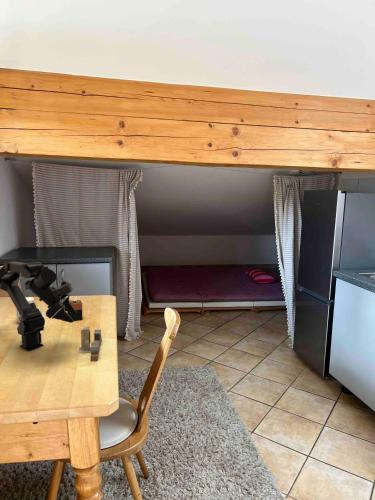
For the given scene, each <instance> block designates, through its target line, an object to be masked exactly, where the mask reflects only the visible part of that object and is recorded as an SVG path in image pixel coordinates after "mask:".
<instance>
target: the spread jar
mask: <svg viewBox="0 0 375 500" xmlns="http://www.w3.org/2000/svg"><path fill="white" fill-rule="evenodd" d="M25 298H26V299H27V301H28V303H29V304H30V306H31V308H32V309H34V308H38V307H37V305H36V302H35V298H34V297H30V296H28V297H26V296H25ZM38 309H39V311H40V312H41V314H42V316H43V317H44V319H46V318H45V314H44V313H43V310H42V309H41V308H38ZM15 312H16V321H17V323H18V325H19V324H20V318H21V315H20V314H19V312H18V310H17V308H16V307H15Z"/></svg>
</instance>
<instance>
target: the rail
mask: <svg viewBox="0 0 375 500" xmlns="http://www.w3.org/2000/svg"><path fill="white" fill-rule="evenodd" d="M93 332H94V333H93V342H91V343H90V349H89V351H81V346H80V347H79V348H78V352H77V354H81V353H82V354H86V353H90V362H98V361H99V360H98V359H99V353H100V348H101V344H102V329H101V328H100V329H94V331H93Z"/></svg>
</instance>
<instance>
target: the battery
mask: <svg viewBox="0 0 375 500" xmlns="http://www.w3.org/2000/svg"><path fill="white" fill-rule="evenodd" d="M69 301H70V303H71V305H72V306H73V308H74V309H75V311H76V312H77V313H76V314H75V315H74V314H71V313H69V312H67V311H66V312H67V313H68V314H69V316H70V317H71V318H72V319H73V322H75V321H76V322H77V321H82V320H83V302H82V300H80V299H76V300H73V299H69Z"/></svg>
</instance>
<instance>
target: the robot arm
mask: <svg viewBox="0 0 375 500" xmlns="http://www.w3.org/2000/svg"><path fill="white" fill-rule="evenodd" d="M20 277H23V278H24V279H28V280H27V281H26V282H24V286H25V290H26V291H28V290H29V291H31V292H32V293H33V294H34V295H35V296H37V297H38V298H39V300H38V301H39V302H43V303H45V304H46V305H47V309H46V311H45V316H46V317H47V318H48V319H50V320H51V319H55V320H58V321H62V322H63V321H64V322H67V323H69V324H72V323H73V322H74V321H73V319H72V318H71V317H70V316H69V314H68V313H67V312H69V313H71V314H74V315H75V314H76V313H77V312H76V311H75V309H74V308H73V306H72V305H71V303H70V301H69V300H70V293H72V291H73V287H72V283H70V282H69V281H66V280H63V281H62V282H60V285H59V286H58V287H55V286H52V284H54V282H55V281H57V274H56V272H55V271H54V270H52V269H50V268H49V266H47V265H46V266H45V265H44V264H43V263H42V262H41V261H35V262H34V261H33V262H22V261H21V262H19V261H18V260H17V261H16V260H11V261H6V262H4V263H3V266H2V267H1V268H0V290H2V291H3V292H4V291H5V292H6V293H7V294H8V296H9V298H10V299H11V301H12V303H13V305H14V307H15V309H16V308H17V310H18V312H19V314H20V315H21V318H20V324H19V323H18V325H17V327H16V331H17V334H18V335H20V336H21V344H20V345H19V347H20V348H22V349H23V350H25V351H28V352H29V351H33V350H35V349H38V348H40V347H43V346H44V344H43V343H42V341H43V340H42V333H41V332H44V330H45V324H46V320H45V319H46V318H45V316H44V317H43V316H42V314H41V312H40V311H39V308H38V307H37V308H34V309H32V308H31V306H30V304H29V303H28V301H27V299H26V298H25V297H26V296H25V295H24V293H23V291H22V289H21V288H20V286H19V281H20ZM31 278H32V279H31ZM44 318H45V319H44Z"/></svg>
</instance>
